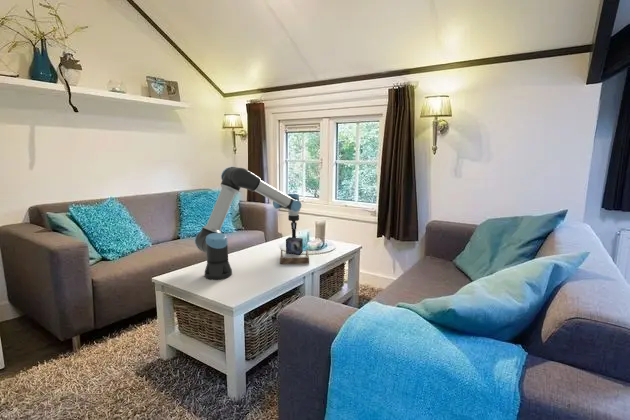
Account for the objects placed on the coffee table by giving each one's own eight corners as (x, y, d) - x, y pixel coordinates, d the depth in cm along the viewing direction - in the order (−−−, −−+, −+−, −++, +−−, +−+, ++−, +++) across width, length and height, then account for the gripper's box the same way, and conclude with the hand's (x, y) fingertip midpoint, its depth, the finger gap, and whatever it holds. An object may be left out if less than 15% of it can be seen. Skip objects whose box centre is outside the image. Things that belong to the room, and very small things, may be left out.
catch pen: (280, 264, 213) (280, 258, 213) (281, 255, 231) (281, 249, 230) (309, 263, 215) (309, 257, 214) (307, 254, 232) (307, 249, 231)
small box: (285, 254, 234) (285, 239, 232) (288, 251, 240) (288, 236, 238) (299, 255, 231) (299, 240, 229) (303, 252, 237) (303, 238, 235)
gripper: (299, 216, 234) (299, 249, 238) (298, 212, 247) (298, 244, 251) (288, 216, 233) (288, 249, 238) (288, 213, 246) (288, 244, 251)
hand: (293, 246), depth 244 cm, fingers closed
